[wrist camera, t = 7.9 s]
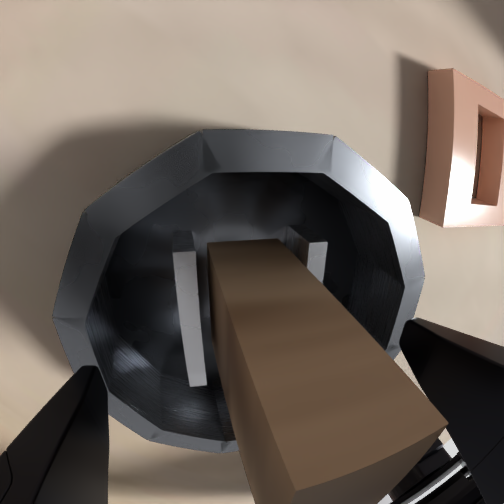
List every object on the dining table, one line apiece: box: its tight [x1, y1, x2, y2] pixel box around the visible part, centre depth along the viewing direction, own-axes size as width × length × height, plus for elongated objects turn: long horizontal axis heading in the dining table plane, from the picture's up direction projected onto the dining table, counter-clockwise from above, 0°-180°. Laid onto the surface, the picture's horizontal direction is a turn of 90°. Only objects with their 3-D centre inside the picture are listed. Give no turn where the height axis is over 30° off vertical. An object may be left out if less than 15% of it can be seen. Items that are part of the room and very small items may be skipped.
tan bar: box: [207, 238, 448, 504], centre depth 7 cm, size 4×2×8 cm, turn 178°
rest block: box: [419, 68, 504, 227], centre depth 11 cm, size 7×7×2 cm
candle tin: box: [52, 129, 425, 453], centre depth 10 cm, size 11×11×4 cm
